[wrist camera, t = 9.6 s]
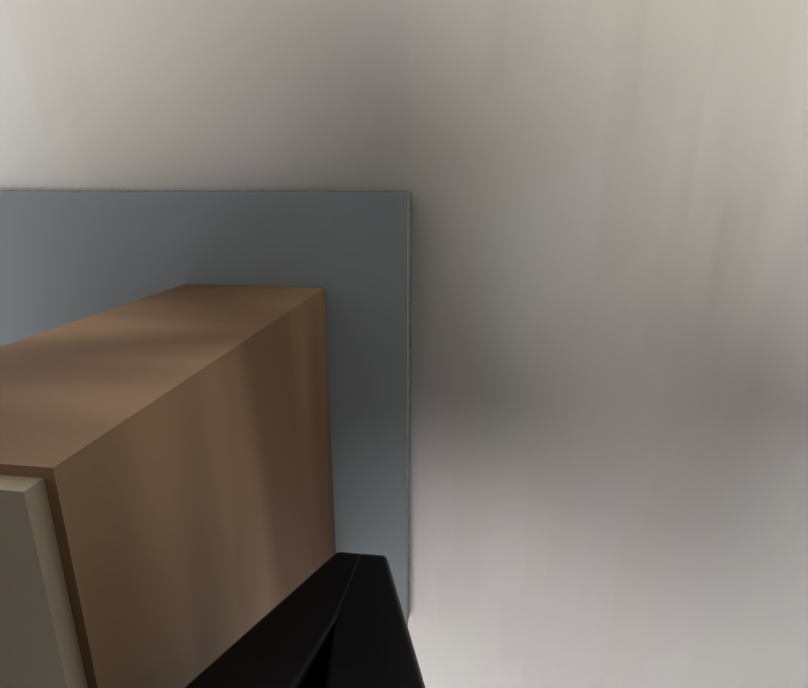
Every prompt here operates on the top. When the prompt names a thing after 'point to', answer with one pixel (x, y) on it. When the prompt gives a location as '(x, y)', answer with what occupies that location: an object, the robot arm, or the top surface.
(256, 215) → the mat
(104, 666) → the walnut slab
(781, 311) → the top surface
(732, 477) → the top surface
